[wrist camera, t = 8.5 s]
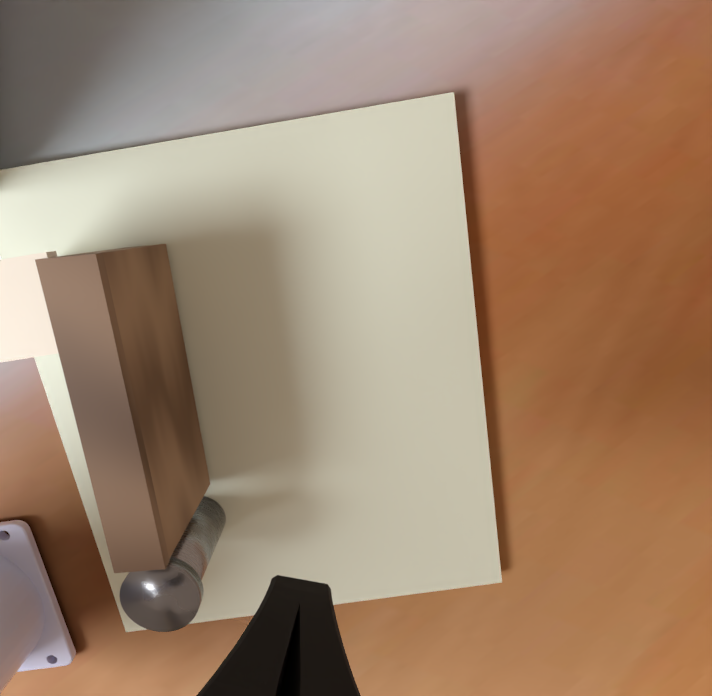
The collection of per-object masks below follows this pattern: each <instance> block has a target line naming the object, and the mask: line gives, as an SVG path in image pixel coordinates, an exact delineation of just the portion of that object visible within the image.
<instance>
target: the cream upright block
mask: <svg viewBox="0 0 712 696" xmlns="http://www.w3.org/2000/svg"><path fill="white" fill-rule="evenodd" d="M50 257H58V256H57V253H56V251H51V252H43V253H37V254H31V255H25V256H19V257H13V258H7V259H1V260H0V362H6V361H13V360H19V359H25V358H32V357H38V356H45V355H51V354H58V349H57V345H56V341H55V337H54V333H53V329H52V325H51V321H50V317H49V313H48V309H47V305H46V301H45V297H44V294H43V290H42V286H41V282H40V278H39V274H38V270H37V266H36V262H35V259H42V258H50Z"/></svg>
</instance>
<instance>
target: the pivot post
mask: <svg viewBox="0 0 712 696" xmlns="http://www.w3.org/2000/svg"><path fill="white" fill-rule="evenodd" d="M225 523H226V516H225V512H224V510H223V508H222V507H221V506H220V504H219V503H217V502H216V501H215V500H213V499H211V498H209V497H205V496H203V498H202V500H201V502H200V504H199V506H198V507H197V509H196V511H195V513H194V515H193V517H192V519H191V520H190V522H189V524H188V526H187V528H186V530H185V531H184V533H183V535H182V537H181V539H180V541H179V542H178V544H177V546H176V548H175V550H174V552H173V553H172V555H171V557H170V559H169V560H170V562H169V563H168V565H167V567H166V569H162V570H149V571H137V572H129V573H128V575H127V576H126V578H125V579H124V581H123V583H122V585H121V588H120V595H119V596H120V602H121V606H122V608H123V610H124V612H125V613H126V614H127V616H128V617H129V618H130V619H131V620H132V621H134V622H135V623H136V624H138V625H139V626H141V627H143V628H146V629H149V630H152V631H158V632H169V631H174V630H178V629H180V628H182V627H184V626H186V625H187V624H189V623H190V622H191V621H192V620H193V619H194V617H195V616H196V614H197V612H198V609H199V607H200V604H201V602H202V599H203V593H204V589H203V584H202V578H203V576H204V573H205V571H206V569H207V566H208V564H209V562H210V559H211V557H212V555H213V552H214V550H215V547H216V545H217V543H218V540H219V538H220V536H221V533H222V531H223V529H224V526H225Z"/></svg>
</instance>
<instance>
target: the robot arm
mask: <svg viewBox="0 0 712 696" xmlns="http://www.w3.org/2000/svg"><path fill="white" fill-rule="evenodd" d="M5 531H6V532H8V533H9V535H8V534H6V533H5ZM75 655H76V650H75V648H74V645H73V642H72V640H71V637H70V634H69V632H68V629H67V626H66V623H65V621H64V618H63V615H62V613H61V610H60V607H59V605H58V602H57V599H56V596H55V594H54V591H53V588H52V586H51V583H50V580H49V577H48V575H47V572H46V569H45V567H44V564H43V561H42V559H41V556H40V553H39V550H38V548H37V545H36V542H35V540H34V537H33V534H32V532H31V529H30V527H29V525H28V524H27V523H26V522H24V521H21V520H12V521H5V522H0V693H1V692H2V691H3V689H4V688H5V687H6V685H7V684H8V683H9V681H10V680H11V679H12V677H13V676H14V675H15V673H16V672H20V671H27V670H35V669H43V668H50V667H58V666H66V665H69V664H70V663H71V662H72V661H73V659H74V658H75ZM197 696H360V693H359V691H358V688H357V685H356V683H355V680H354V677H353V674H352V671H351V669H350V665H349V662H348V659H347V656H346V653H345V649H344V646H343V643H342V640H341V636H340V632H339V628H338V624H337V620H336V616H335V611H334V606H333V601H332V594H331V588H330V587H329V585H328V584H325V583H319V582H314V581H308V580H303V579H297V578H291V577H286V576H280V575H277V576H275V577H273V578H272V579H271V582H270V585H269V588H268V590H267V592H266V595H265V597H264V599H263V601H262V602H261V604H260V606H259V608H258V610H257V611H256V613H255V615H254V617H253V618H252V620H251V622H250V623H249V625H248V626H247V628H246V629H245V631H244V633H243V634H242V636H241V637H240V639H239V640H238V642H237V643H236V645H235V646H234V648H233V649H232V650H231V652H230V653H229V654H228V656H227V657H226V659H225V660H224V661H223V663H222V664H221V665H220V667H219V668H218V669H217V671H216V672H215V674H214V675H213V676H212V677H211V679H210V680H209V681H208V682H207V684H206V685H205V686H204V687H203V689H202V690H201V691H200V692H199V693H198V695H197Z"/></svg>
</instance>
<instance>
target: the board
mask: <svg viewBox="0 0 712 696" xmlns="http://www.w3.org/2000/svg"><path fill="white" fill-rule="evenodd" d="M157 244H166V247H167V252H168V258H169V263H170V269H171V274H172V279H173V285H174V290H175V296H176V301H177V306H178V312H179V317H180V323H181V328H182V333H183V339H184V344H185V350H186V355H187V360H188V366H189V371H190V377H191V382H192V387H193V393H194V398H195V404H196V409H197V414H198V420H199V425H200V431H201V436H202V441H203V447H204V452H205V458H206V463H207V468H208V474H209V479H210V485H209V487H208V489H207V491H206V493H205V495H204V496H205V497H209V498H211V499H213V500H215V501H216V502H217V503H219V504H220V506H221V507H222V508H223V510H224V512H225V516H226V523H225V526H224V529H223V531H222V533H221V536H220V538H219V540H218V543H217V545H216V547H215V550H214V552H213V555H212V557H211V559H210V562H209V564H208V566H207V569H206V571H205V573H204V576H203V578H202V584H203V589H204V593H203V599H202V602H201V604H200V607H199V609H198V612H197V614H196V616H195V617H194V619H193V620H192V621H191V622H190V623H189V624H192V623H200V622H207V621H215V620H222V619H230V618H237V617H245V616H252V615H255V613H256V611H257V610H258V608H259V606H260V604H261V602H262V601H263V599H264V597H265V595H266V592H267V590H268V588H269V585H270V582H271V579H272V578H273V577H275V576H277V575H280V576H286V577H291V578H297V579H303V580H308V581H314V582H319V583H325V584H328V585H329V587H330V588H331V594H332V601H333V605H335V604H343V603H351V602H358V601H366V600H373V599H381V598H388V597H396V596H403V595H411V594H418V593H426V592H434V591H441V590H449V589H456V588H464V587H471V586H479V585H486V584H494V583H501V582H502V576H501V566H500V556H499V546H498V536H497V525H496V515H495V505H494V495H493V485H492V474H491V464H490V454H489V444H488V434H487V423H486V413H485V403H484V393H483V383H482V373H481V362H480V352H479V342H478V332H477V322H476V311H475V301H474V291H473V281H472V271H471V260H470V250H469V240H468V230H467V220H466V209H465V199H464V189H463V179H462V169H461V159H460V148H459V138H458V128H457V118H456V108H455V97H454V92H451V93H445V94H439V95H434V96H428V97H422V98H416V99H410V100H404V101H399V102H393V103H387V104H381V105H375V106H369V107H364V108H358V109H352V110H346V111H340V112H334V113H329V114H323V115H317V116H311V117H305V118H299V119H294V120H288V121H282V122H276V123H270V124H264V125H259V126H253V127H247V128H241V129H235V130H230V131H224V132H218V133H212V134H206V135H200V136H195V137H189V138H183V139H177V140H171V141H165V142H160V143H154V144H148V145H142V146H136V147H130V148H125V149H119V150H113V151H107V152H101V153H95V154H90V155H84V156H78V157H72V158H66V159H60V160H55V161H49V162H43V163H37V164H31V165H25V166H20V167H14V168H8V169H2V170H0V257H1V259H7V258H13V257H19V256H25V255H31V254H37V253H43V252H51V251H56V253H57V256H65V255H73V254H80V253H88V252H95V251H103V250H110V249H117V248H125V247H136V246H146V245H157ZM34 358H35V361H36V364H37V367H38V370H39V373H40V376H41V379H42V382H43V385H44V388H45V391H46V394H47V397H48V400H49V403H50V406H51V409H52V412H53V415H54V418H55V421H56V424H57V427H58V430H59V433H60V436H61V439H62V442H63V445H64V448H65V451H66V454H67V457H68V460H69V463H70V466H71V469H72V472H73V475H74V478H75V481H76V484H77V487H78V490H79V493H80V496H81V499H82V502H83V505H84V508H85V511H86V514H87V517H88V520H89V523H90V526H91V529H92V532H93V535H94V538H95V541H96V544H97V547H98V550H99V553H100V556H101V559H102V562H103V565H104V568H105V571H106V574H107V577H108V580H109V583H110V586H111V589H112V592H113V595H114V598H115V601H116V604H117V607H118V610H119V613H120V616H121V619H122V622H123V625H124V628H125V631H126V632H132V631H139V630H147V629H146V628H143V627H141V626H139V625H138V624H136V623H135V622H134V621H132V620H131V619H130V618H129V617H128V616H127V614H126V613H125V612H124V610H123V608H122V606H121V602H120V596H119V595H120V588H121V585H122V583H123V581H124V579H125V578H126V576H127V575H128V573H129V572H124V573H114V571H113V567H112V563H111V559H110V555H109V551H108V547H107V543H106V539H105V535H104V531H103V527H102V523H101V519H100V515H99V511H98V507H97V503H96V499H95V495H94V491H93V488H92V484H91V480H90V476H89V472H88V468H87V464H86V460H85V456H84V452H83V448H82V444H81V440H80V436H79V432H78V428H77V424H76V420H75V416H74V412H73V408H72V404H71V400H70V396H69V392H68V389H67V385H66V381H65V377H64V373H63V369H62V365H61V361H60V357H59V353H58V354H51V355H45V356H38V357H34Z"/></svg>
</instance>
